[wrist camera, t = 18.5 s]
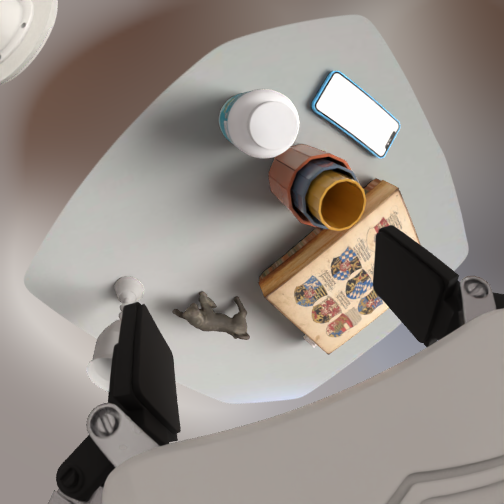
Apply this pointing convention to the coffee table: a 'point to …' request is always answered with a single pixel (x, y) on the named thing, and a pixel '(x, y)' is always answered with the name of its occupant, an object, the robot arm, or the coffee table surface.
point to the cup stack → (302, 178)
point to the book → (336, 273)
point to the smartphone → (356, 113)
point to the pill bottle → (260, 122)
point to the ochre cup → (335, 200)
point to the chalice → (112, 333)
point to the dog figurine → (216, 318)
